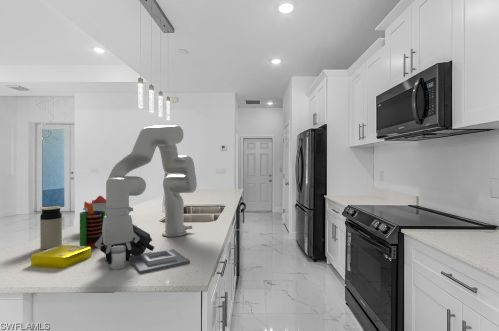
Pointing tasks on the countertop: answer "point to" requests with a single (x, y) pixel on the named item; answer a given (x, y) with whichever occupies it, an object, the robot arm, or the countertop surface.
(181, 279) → the countertop surface
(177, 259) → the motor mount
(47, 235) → the travel mug
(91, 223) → the motor
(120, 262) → the white domed cylinder
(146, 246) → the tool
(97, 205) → the citrus juicer
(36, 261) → the element tile
